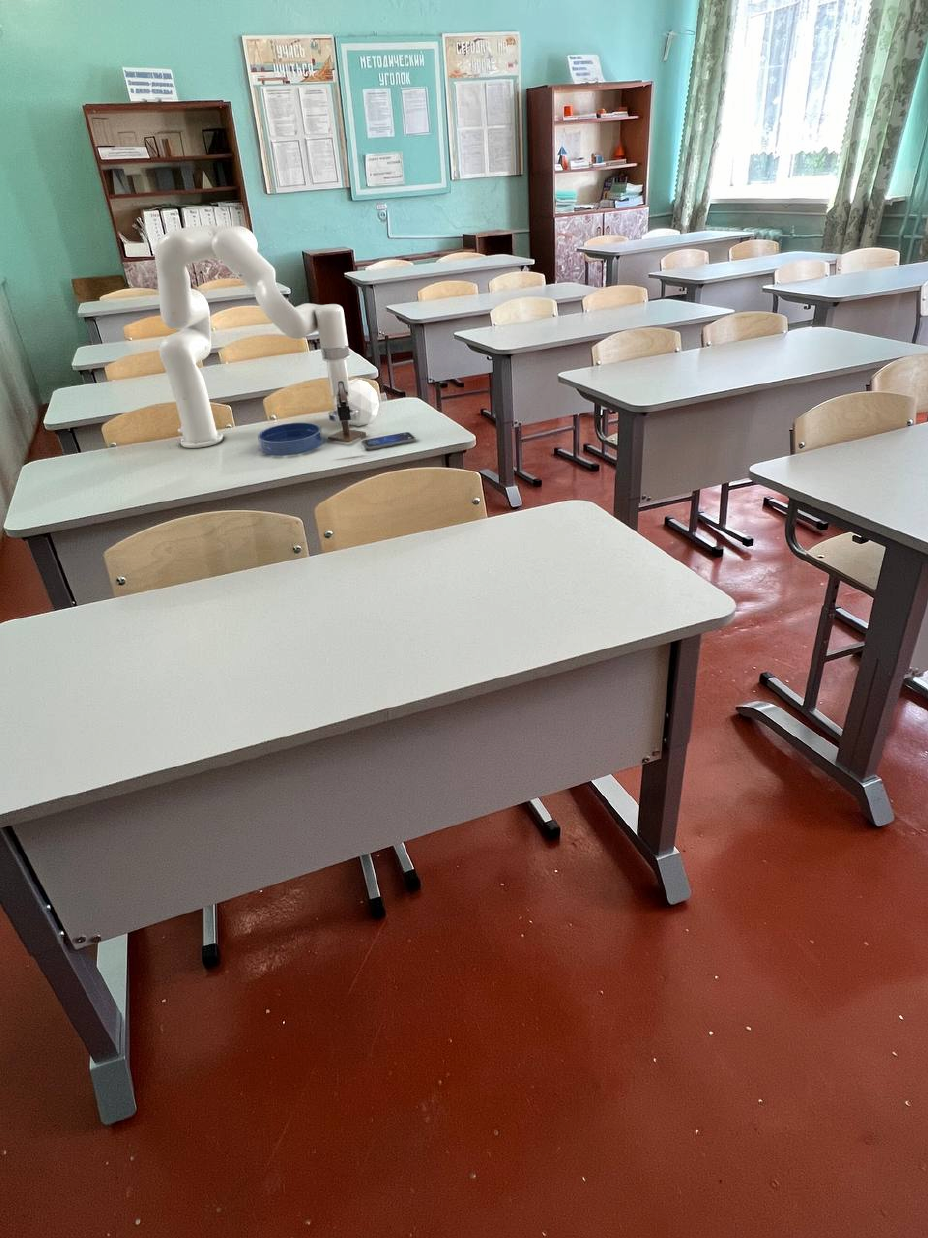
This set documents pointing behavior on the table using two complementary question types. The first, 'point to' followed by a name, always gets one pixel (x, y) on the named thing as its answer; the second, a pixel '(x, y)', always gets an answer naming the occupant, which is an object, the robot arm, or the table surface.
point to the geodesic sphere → (361, 401)
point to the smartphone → (388, 440)
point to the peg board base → (347, 434)
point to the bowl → (290, 438)
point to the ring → (335, 417)
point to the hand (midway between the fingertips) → (344, 418)
